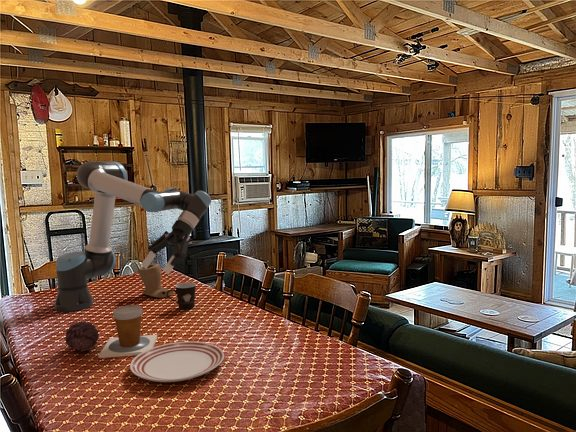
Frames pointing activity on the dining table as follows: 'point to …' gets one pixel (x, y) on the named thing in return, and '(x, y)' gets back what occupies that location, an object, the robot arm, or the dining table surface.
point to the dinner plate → (176, 361)
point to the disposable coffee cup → (128, 324)
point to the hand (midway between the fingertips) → (154, 269)
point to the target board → (116, 350)
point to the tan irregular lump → (153, 281)
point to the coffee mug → (185, 295)
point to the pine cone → (81, 336)
